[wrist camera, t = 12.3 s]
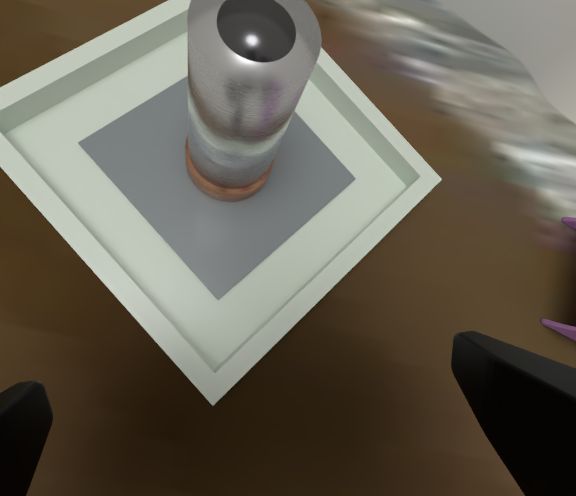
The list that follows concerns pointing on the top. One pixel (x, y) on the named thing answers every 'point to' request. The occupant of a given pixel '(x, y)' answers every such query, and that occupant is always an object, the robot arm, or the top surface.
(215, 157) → the metal sleeve
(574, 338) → the toy chair
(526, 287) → the top surface
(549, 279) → the top surface
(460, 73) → the top surface
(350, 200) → the sage tray
